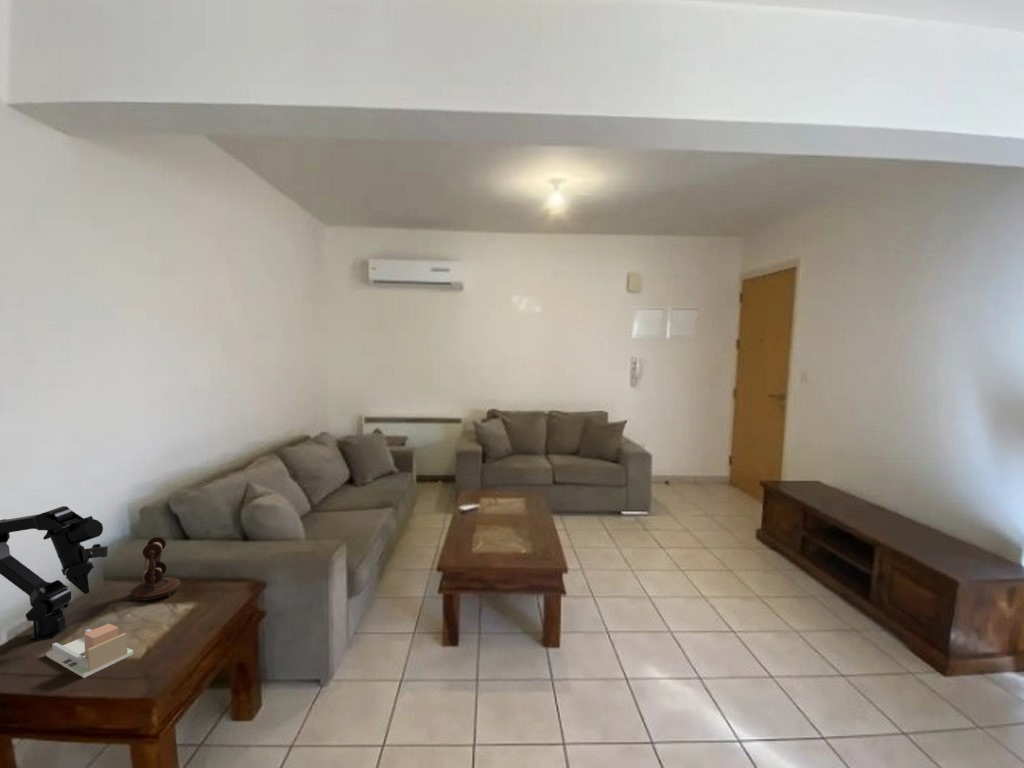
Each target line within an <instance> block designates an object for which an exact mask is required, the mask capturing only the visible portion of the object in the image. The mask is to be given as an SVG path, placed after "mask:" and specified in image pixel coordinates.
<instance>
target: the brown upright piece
mask: <svg viewBox="0 0 1024 768" xmlns="http://www.w3.org/2000/svg"><path fill="white" fill-rule="evenodd" d="M166 543H167V542H166V540H165V539H164V538H163V537H160V536H156V537H152V538H151V539H150V540H148V542H147V545H145V547H144V548H143V550H142V555H143V557H144V567H143V568H144V569H143V574H142V579H143V582H142V583H140V584H138V585H136V586H135V587H134V588H132V589H131V591H130V597H131V598H132V599H133V600H134V602H135V603H138V602H139V601H147V600H149V601H150V600H155V599H157V598H158V599H159V598H162V597H165V596H167V597H168V598H170V597H171V595H172V593H174V592H176V591H177V590H178V589H179V588H180V587H181V580H179V578H175V577H170V576H169V577H167V576H164V574H165V573H166V572H167V564H166V563H165V562H163V561H161V558H162V552H163V550H164V549H165V547H166V545H167V544H166ZM148 563H149V564H148Z"/></svg>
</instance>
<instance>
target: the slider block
mask: <svg viewBox="0 0 1024 768" xmlns="http://www.w3.org/2000/svg"><path fill="white" fill-rule="evenodd" d="M91 630H92V631H89V632H87V633H83V634H84V635H83V637H84V641H85V658H86V659H88V652H87V649H89V648H91V647H94V646H96V645H98V644H100V643H103V642H105V641H107V640H109V639H112V638H114V637H116V636H118V635H120V633H119V631H120V630H119V627H118V626H116V625H114V624H111V623H110V622H109V623H107V624H104V625H102V626H99V627H97V628H94V629H91Z"/></svg>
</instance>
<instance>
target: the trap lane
mask: <svg viewBox="0 0 1024 768" xmlns="http://www.w3.org/2000/svg"><path fill="white" fill-rule="evenodd" d="M92 630H93V629H91V628H88V629H85V631H84V632H85V633H87V632H89V631H92ZM85 633H84V634H85ZM127 635H128V633H127V632H124V633H121V634H119V635H118V636H116V637H114V638H112V639H109V640H107V641H105V642H103V643H100V644H98V645H96V646H94V647H91V648H89V649H87V652H88V659H86V658H85V641H84V636H82V637H79V638H78V639H75V640H73V641H71V642H68V643H66V644H64V645H62V644H60V643H58V642H54V643H52V645H51V647H52V649H51V650H49V651H47V652H46V653H45V655H46V657H47V658H48V659H50V660H52V661H54V662H55V663H58V664H59V665H61V666H63V667H64V668H66V669H67V670H69V671H71V672H73V673H75V674H76V675H78V676H80V677H81V678H83V679H84V678H87V677H90V675H93V674H94V673H95V674H96V673H97V672H99V671H101V670H103V669H106V668H107V667H109V666H112V665H113V664H117V663H118V662H121V661H122V660H124V659H126V658H128V657H131V656H132V655H134V650H133V649H131V648H129V647H128V637H127Z"/></svg>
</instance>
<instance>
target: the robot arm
mask: <svg viewBox="0 0 1024 768" xmlns="http://www.w3.org/2000/svg"><path fill="white" fill-rule="evenodd" d="M27 530H37V531H46V534H45V535H44V536H43V538H42V539H43V540H48V539H50V540H51V542H52V543H51V544H53V547H54V550H55V552H56V554H57V558H58V559H59V562H60V564H61V573H62V575H63V576H65V579H66V580H68V581H69V582H70V583H71V584H72V585H74V586H75V587H76V588H77V589H78V590H80V592H82V593H83V595H86V594H89V593H90V587H89V586H90V585H89V578H88V576H89V574H90V573H91V571H92V569H94V568H95V567H94V565H93V562H92V561H90V559H95V558H107V557H108V553H109V552H108V551H109V546H102V545H101V544H99V543H95V544H93V545H92V546H91V547H88V548H85V546H83V545H82V544H81V543H83V542H86V541H90V540H92V539H96V538H98V537H100V536H101V535H102V534H103V531H104V526H103V524H102V523H101V522H100V521H99V520H98V519H95V518H93V516H92V515H90V516H88V517H85V518H84V517H82V516H81V515H80V514H77V513H76V512H75V511H73V510H71V508H69V506H67V505H62V506H59V507H56V508H53V509H50V510H47V511H45V512H41V513H39V514H32V515H27V516H21V517H16V518H9V519H8V518H7V519H6V518H4V519H0V575H1V576H2V577H4V579H6V580H8V581H9V582H10V583H12V584H13V585H14V586H16V587H17V588H18V589H20V590H21V591H22V592H23V593H25V594H26V595H28V597H29V603H30V604H29V605H30V606H31V607H32V608H31V609H30V610H29V611H27V613H26V614H25V617H26V619H27V622H33V623H32V625H33V635H31V636H30V637H29V639H30V640H36V639H52V638H54V637H55V636H57V635H58V634H60V633H61V632H62V631H64V630H65V629H66V628H68V625H67V624H66V618H65V615H64V609H67V608H68V606H69V603H70V602H71V600H72V592H71V589H69V586H68V585H66V584H64V583H63V582H62V581H61V580H59V579H56V580H54V581H52V582H49V581H46V580H44V579H43V578H42V577H40V575H38V574H37V573H35V572H34V571H33V570H31V569H30V568H28V567H27V566H26V565H25V564H23V563H22V562H20V561H19V559H17V558H15V557H14V556H13V555H12V554H11V553H10V551H11V550H10V546H9V544H7V543H8V541H9V540H10V538H11V537H10V536H11V535H10V533H15V532H22V531H27Z"/></svg>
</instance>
